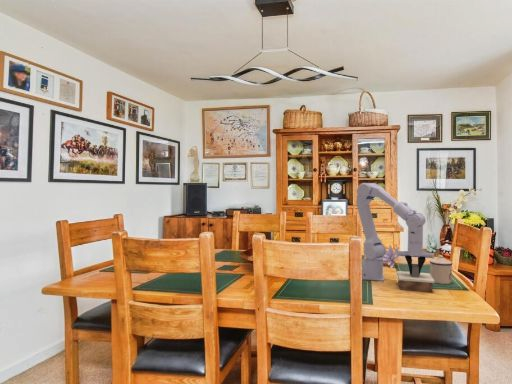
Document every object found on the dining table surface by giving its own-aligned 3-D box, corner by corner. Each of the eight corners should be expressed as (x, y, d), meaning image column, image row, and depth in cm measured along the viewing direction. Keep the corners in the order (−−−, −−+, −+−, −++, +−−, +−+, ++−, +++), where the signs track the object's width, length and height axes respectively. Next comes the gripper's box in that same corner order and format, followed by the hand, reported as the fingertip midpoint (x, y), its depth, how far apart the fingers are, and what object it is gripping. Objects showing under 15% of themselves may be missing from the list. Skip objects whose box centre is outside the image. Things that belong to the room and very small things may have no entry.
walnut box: (400, 289, 147) (400, 279, 147) (398, 282, 159) (398, 273, 159) (432, 292, 144) (432, 282, 144) (428, 284, 155) (428, 275, 155)
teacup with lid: (454, 285, 155) (455, 258, 155) (431, 283, 157) (432, 257, 157) (446, 278, 167) (447, 253, 166) (425, 276, 169) (426, 252, 169)
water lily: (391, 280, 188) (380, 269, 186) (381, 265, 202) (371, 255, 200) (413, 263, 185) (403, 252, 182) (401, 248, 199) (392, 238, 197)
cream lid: (398, 281, 147) (399, 267, 147) (396, 273, 160) (397, 261, 159) (434, 284, 143) (434, 270, 143) (429, 276, 155) (429, 263, 155)
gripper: (397, 242, 149) (396, 274, 150) (435, 244, 145) (435, 278, 145) (396, 240, 156) (395, 271, 156) (433, 242, 152) (432, 273, 152)
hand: (414, 274), depth 151 cm, fingers closed on cream lid, 2 cm apart
